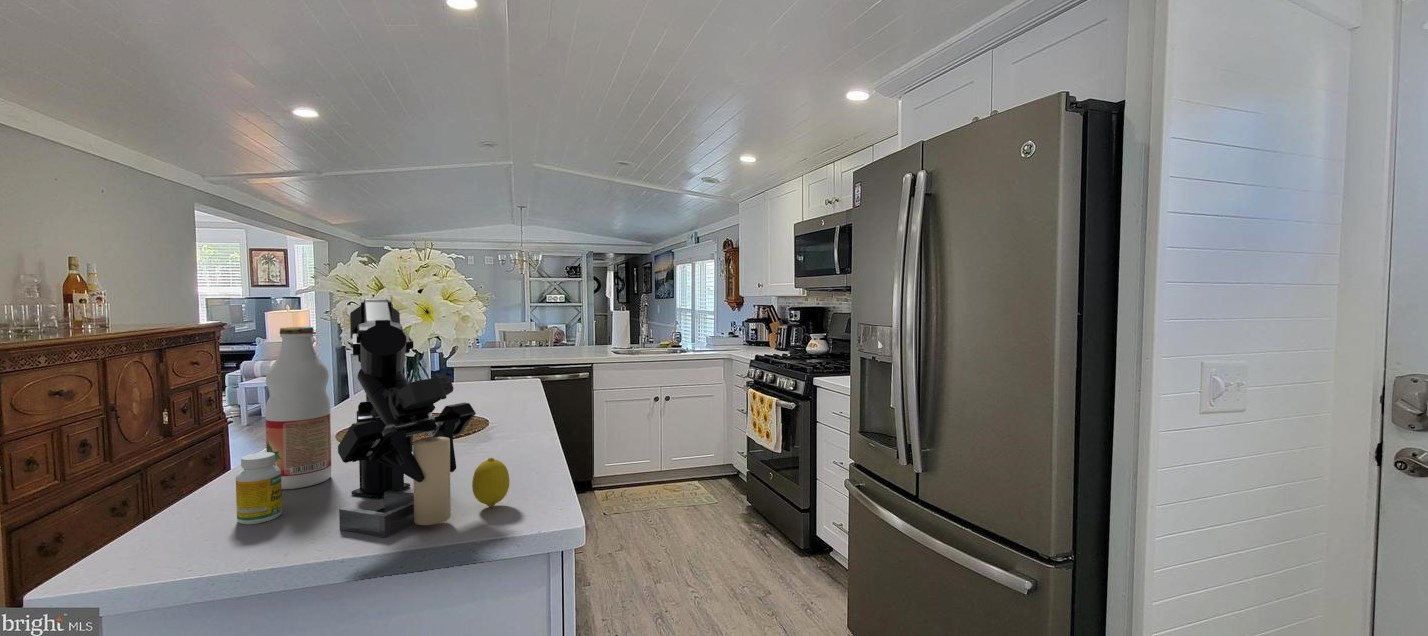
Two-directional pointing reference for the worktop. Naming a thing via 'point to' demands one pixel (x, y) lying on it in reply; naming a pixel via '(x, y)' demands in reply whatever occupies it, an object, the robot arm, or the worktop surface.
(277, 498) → the supplement bottle
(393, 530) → the holder
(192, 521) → the worktop surface
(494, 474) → the lemon
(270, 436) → the fruit juice
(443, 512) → the paper roll
